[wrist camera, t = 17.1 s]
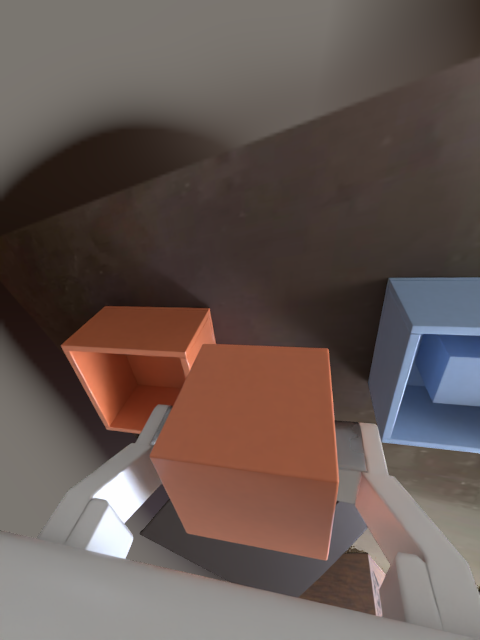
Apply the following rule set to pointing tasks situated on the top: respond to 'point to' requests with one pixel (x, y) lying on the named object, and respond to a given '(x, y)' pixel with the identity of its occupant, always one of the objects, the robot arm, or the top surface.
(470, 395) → the slate block
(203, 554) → the laptop stand
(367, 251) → the top surface
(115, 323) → the terracotta bin
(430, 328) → the slate bin
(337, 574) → the tissue box cover
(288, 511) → the terracotta block
